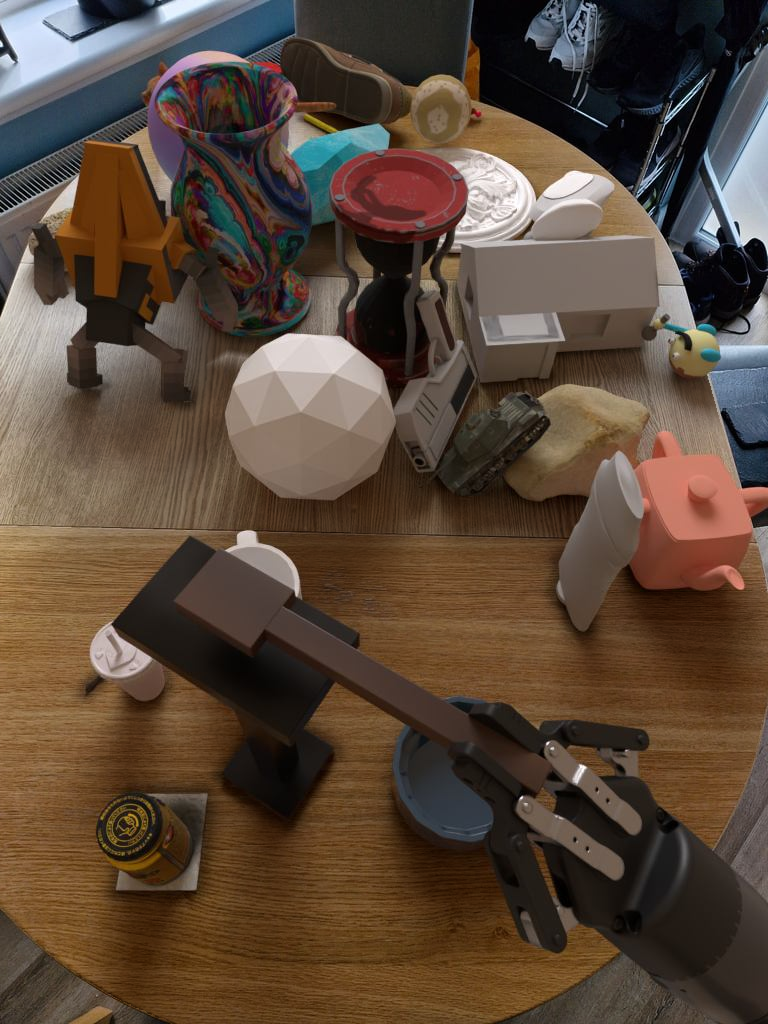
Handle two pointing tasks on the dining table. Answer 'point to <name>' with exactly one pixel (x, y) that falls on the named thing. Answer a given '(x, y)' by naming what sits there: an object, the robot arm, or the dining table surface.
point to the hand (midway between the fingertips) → (469, 728)
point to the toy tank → (491, 443)
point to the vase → (241, 188)
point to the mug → (266, 560)
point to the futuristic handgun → (434, 389)
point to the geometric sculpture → (309, 416)
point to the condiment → (153, 839)
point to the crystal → (334, 162)
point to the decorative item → (50, 227)
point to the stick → (93, 683)
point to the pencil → (319, 123)
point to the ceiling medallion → (488, 197)
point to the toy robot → (124, 266)
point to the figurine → (688, 347)
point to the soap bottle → (570, 207)
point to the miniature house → (554, 299)
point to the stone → (577, 442)
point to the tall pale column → (601, 540)
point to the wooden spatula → (336, 659)
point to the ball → (164, 139)
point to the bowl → (438, 791)
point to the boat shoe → (343, 82)
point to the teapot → (692, 520)
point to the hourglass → (394, 251)
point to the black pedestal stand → (241, 683)
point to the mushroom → (440, 109)
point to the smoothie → (126, 665)
